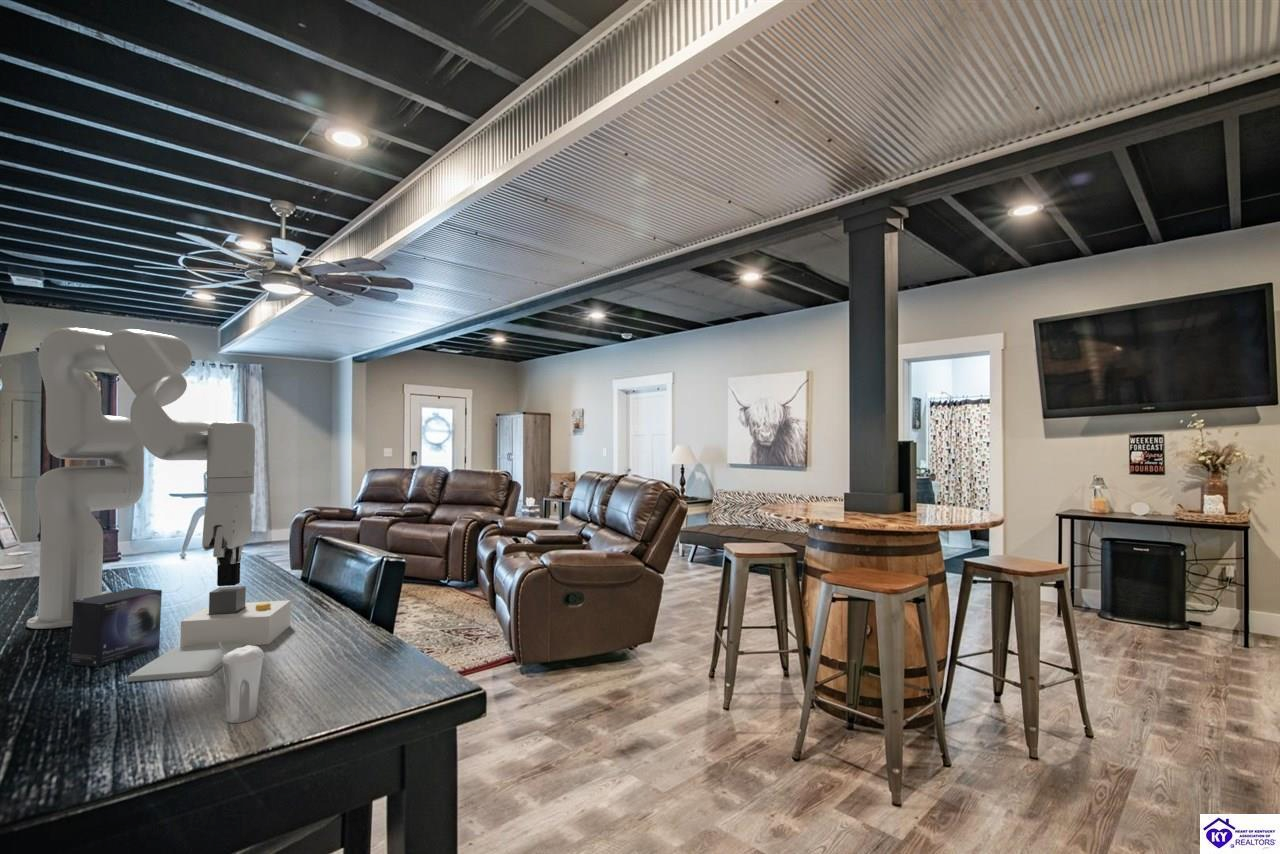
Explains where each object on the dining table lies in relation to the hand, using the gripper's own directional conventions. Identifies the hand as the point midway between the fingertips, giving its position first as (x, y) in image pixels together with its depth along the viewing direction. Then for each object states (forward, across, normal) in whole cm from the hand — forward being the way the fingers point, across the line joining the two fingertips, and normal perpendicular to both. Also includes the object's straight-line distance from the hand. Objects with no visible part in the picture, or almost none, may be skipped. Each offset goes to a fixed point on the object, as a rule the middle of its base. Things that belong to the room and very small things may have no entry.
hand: (228, 584), depth 115 cm
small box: (+10, +7, -14) cm, 19 cm away
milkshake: (+10, +39, +16) cm, 43 cm away
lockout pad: (+10, +14, 0) cm, 17 cm away
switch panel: (+10, 0, +2) cm, 10 cm away
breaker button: (+7, 0, 0) cm, 7 cm away
